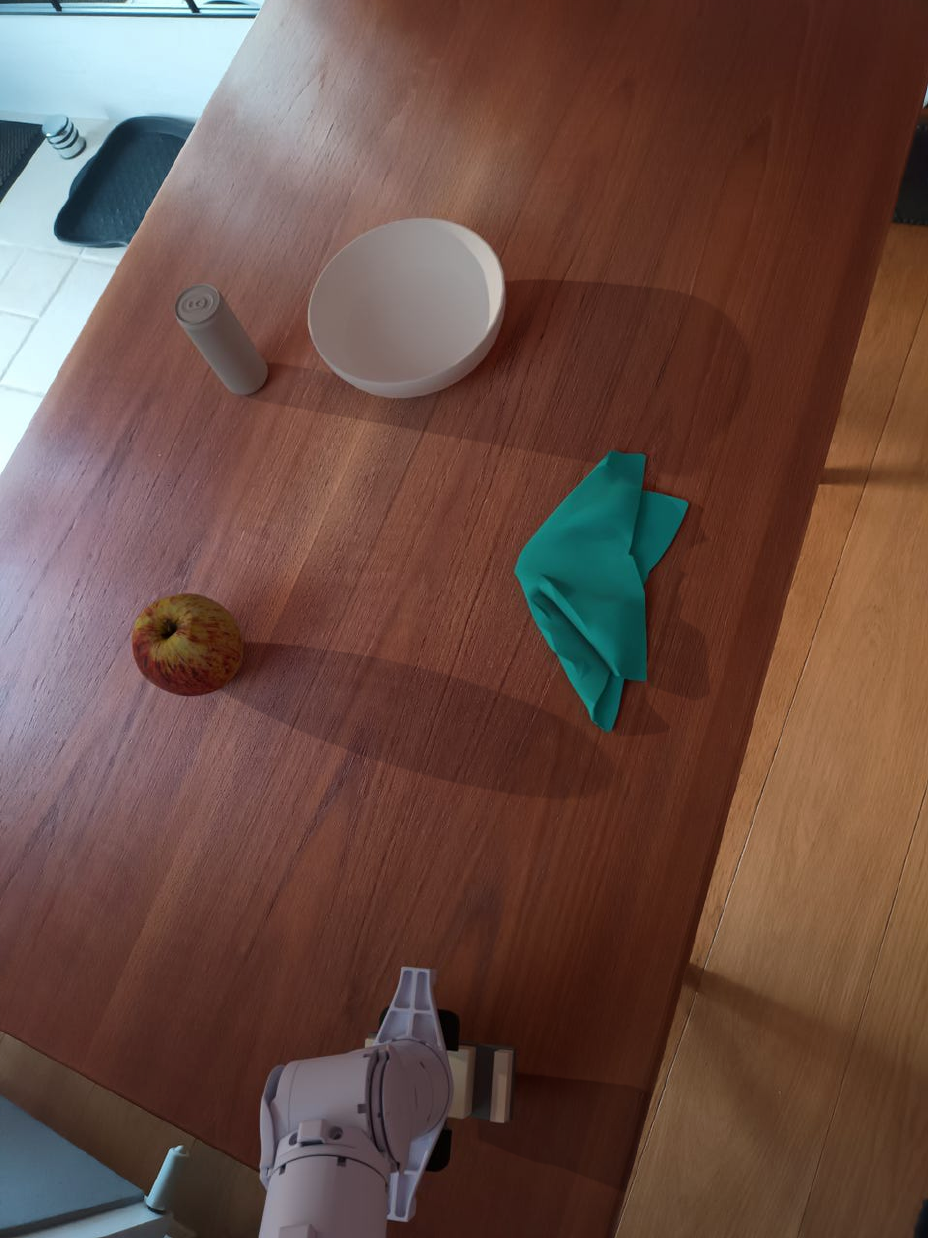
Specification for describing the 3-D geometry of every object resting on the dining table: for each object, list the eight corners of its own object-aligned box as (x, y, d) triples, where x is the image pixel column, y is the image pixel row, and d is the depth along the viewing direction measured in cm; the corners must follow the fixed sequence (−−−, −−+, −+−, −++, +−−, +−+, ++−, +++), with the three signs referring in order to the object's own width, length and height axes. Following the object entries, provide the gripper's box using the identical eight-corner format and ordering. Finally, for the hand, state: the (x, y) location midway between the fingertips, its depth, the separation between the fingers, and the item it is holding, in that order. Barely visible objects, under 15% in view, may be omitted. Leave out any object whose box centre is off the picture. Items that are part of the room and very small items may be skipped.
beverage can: (267, 395, 98) (217, 321, 87) (223, 400, 99) (169, 327, 88) (272, 356, 100) (223, 278, 89) (228, 361, 101) (175, 284, 90)
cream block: (517, 1047, 70) (509, 1050, 66) (512, 1120, 68) (504, 1128, 65) (373, 1031, 72) (357, 1034, 69) (365, 1102, 71) (349, 1108, 67)
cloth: (558, 439, 90) (555, 426, 88) (704, 465, 86) (705, 452, 84) (474, 697, 82) (469, 690, 80) (630, 739, 78) (630, 732, 76)
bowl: (530, 393, 92) (521, 355, 86) (337, 441, 94) (316, 406, 89) (497, 239, 99) (487, 195, 94) (319, 287, 102) (299, 246, 96)
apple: (151, 689, 89) (92, 655, 79) (197, 604, 91) (145, 561, 82) (231, 724, 86) (180, 693, 77) (277, 635, 88) (232, 594, 79)
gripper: (337, 961, 60) (393, 964, 72) (305, 1228, 55) (371, 1182, 67) (447, 971, 58) (485, 973, 71) (424, 1246, 53) (469, 1196, 66)
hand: (435, 1075), depth 69 cm, fingers closed on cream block, 4 cm apart
